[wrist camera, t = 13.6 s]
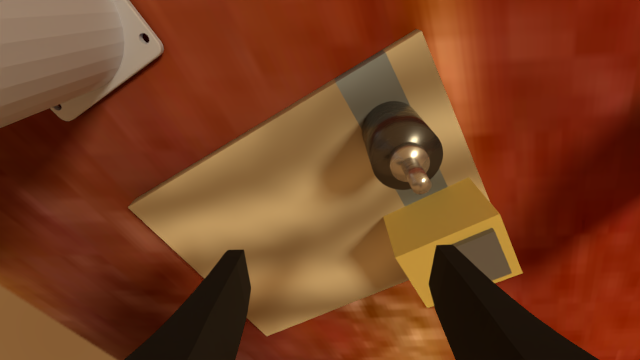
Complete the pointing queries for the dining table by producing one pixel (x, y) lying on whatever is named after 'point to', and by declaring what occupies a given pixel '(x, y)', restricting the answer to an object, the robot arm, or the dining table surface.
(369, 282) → the plywood panel
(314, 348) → the dining table surface
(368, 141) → the soap dispenser
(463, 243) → the block
